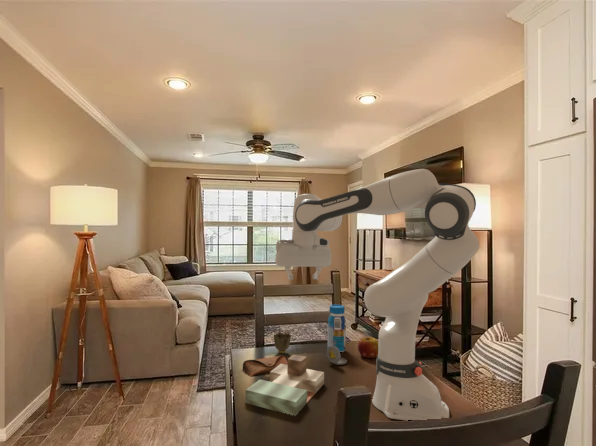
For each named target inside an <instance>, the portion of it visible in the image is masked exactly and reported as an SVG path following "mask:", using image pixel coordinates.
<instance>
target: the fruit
mask: <svg viewBox="0 0 596 446" xmlns="http://www.w3.org/2000/svg"><path fill="white" fill-rule="evenodd" d="M357 350H358V352H359V354H360V355H361V356H362V357H364V358H365V359H374V358H377V356H378V340H377V338H374V337H372V336H365V337H362V338H361V339H360V340H358V342H357Z"/></svg>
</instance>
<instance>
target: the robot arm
mask: <svg viewBox="0 0 596 446" xmlns="http://www.w3.org/2000/svg"><path fill="white" fill-rule="evenodd" d="M475 197H476V196H475V194H473V191H471V189H469V188H468V187H466V186H462V185H459V184H453V183H448V182H440V183H438V180H437V178H436V176H435V175H434V174H433V172H431V171H430V170H429V169H426V168H418V169H412V170H407V171H403V172H399V173H397V174H393V175H390V176H387V177H385V178H383V179H380V180H378V181H375V182H372V183H370V184H368V185H364V186H361V187H359V188H357V189H356V188H355V189H354V190H351V191H347V192H343V193H341V194H337V195H334V196H330V197H326V198H323V199H322V198H320V197H319V196H318V195H317V194H315V193H303V194H299V195H297V196H296V197H295V200H294V203H293V211H292V222H293V227H292V230H291V231H292V234H291V239H284V238H283V239H280V240H278V241H277V242H276V244H275V250H276V252H275V253H276V254H275V262H274V263H275V265H276V266H277V267H284V271H285V272H286V274H287V280H288V281H291V280H292V281H293V280H294V274H292V273H291V268H292V267H294V268H295V267H296V268H298V267H303V268H304V267H307V268H308V267H309V268H310V267H311V268H312V267H313V268H314V267H315V270H316V271H315V273H312V280H319V275H320V273H321V272H322V267H324V268H329V267H330V266H331V264H332V250H331V248H330V244H331V242H330V241H331V240H329V239H327V238H324V237H322V236H319V235H318V232H333V231H336V230H338V229H339V228H340V227H341V225H342V223H343V219H344V216H346V215H350V214H365V215H374V216H375V215H376V216H388V215H389V216H390V215H395V214H400V213H403V212H407V211H410V210H412V209H413V210H414V209H423V210H424V218H425V220H426V223H427V225H428V226H429V228H430V229H431V230H432V232H433V233H434V234H435V236H434V238H432V239H431V240H430V241H429V242H428V243H427V244H426V245H424V246H423V248H421V249H420V250H419V251H418V252H417V253H415V255H413V257H412V258H410V259H409V260H407V261H406V262H405V263H404V264H402V265H400V266H398V267H397V268H395V269H394V270H393V271H391V272H390V273H388V274H386V276H384V277H382V278H381V279H380V280H378V281H376V282H375V283H372V284H370V285H369V286H367V288H366V289H365V292H364V296H363V301H364V305H365V307H366V309H367V311H369V313H371V314H372V315H374V316H376V317H382V318H385V320H384V323H383V324H382V325H381V327H380V329H379V331H378V340H377V341H378V355H377V356H376V361H375V370H376V382H375V388H374V393H373V395H372V398H373V399H372V398H371V401H372V402H371V403H372V404H373V405H374V407H375V408H376V409H378V410H379V411H381V412H383V414H384V415H385V416H386V417H387V418H389V419H393V420H401V421H408V420H427V419H441V418H449V419H450V409H449V406H448V405H447V404H446V402H444V401H443V400H442V397H441V393H440V391H439V388H438V387H437V385H435V384H434V383H433V382H432V381H431V380H430V379H429V378H427V377H426V376H425V375H424V374H423V368H422V362H421V361H418V360H417V359H415V358H416V335H417V331H418V325H419V322H420V318H421V315H422V311H423V308H425V307H424V306H425V305H426V303H427V302H428V299H429V294H430V293H433V292H434V291H436V290H437V289H438V288H439V287H440V288H441V286H442V285H444V284H445V283H446V282H447V281H449V279H451V278H452V277H454V276H455V275H456V274H457V273H459V272H460V271H461V270H462V269H463V268H464V267H465V266H466V265H467V264H468V263H469V262H470V261H471V260H472V259H473V258H474V256H475V255H476V254H477V252H478V251H479V249H480V240H479V238H478V237H477V235H476V233H474V231H472V230H471V229H470V226H469V222H470V221H471V219H472V217H473V215H474V212H475V210H476V205H477V202H476V198H475Z"/></svg>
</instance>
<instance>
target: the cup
mask: <svg viewBox="0 0 596 446" xmlns="http://www.w3.org/2000/svg"><path fill="white" fill-rule="evenodd" d="M291 336H292V335H291V334H290V333H289V332H288V333H287V332H285V333H284V334H283V332H278V333H275V334H273V340H274V341H273V343H274V347H275V349H276V350H277V353H278V354H279V355H284V354H285V355H286V353H287V350H288V349H289V347H290V344H291V343H290V342H291Z"/></svg>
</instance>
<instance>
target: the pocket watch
mask: <svg viewBox="0 0 596 446" xmlns="http://www.w3.org/2000/svg"><path fill="white" fill-rule="evenodd" d="M333 341H334V340H333ZM331 342H332V340H331ZM335 342H336V341H335ZM335 342H333V346H330V347H328V349H326V357H327V358H328V361H329V362H330V363H332V364H333V365H338V366H339V365H340V366H342V365H346V364H347V363H348V362H347V361H348V360H347V359H346V358H344V357H342V356H341V353H340V351H339V349H338V348H337V347H336V346H335V344H336V343H335Z"/></svg>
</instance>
